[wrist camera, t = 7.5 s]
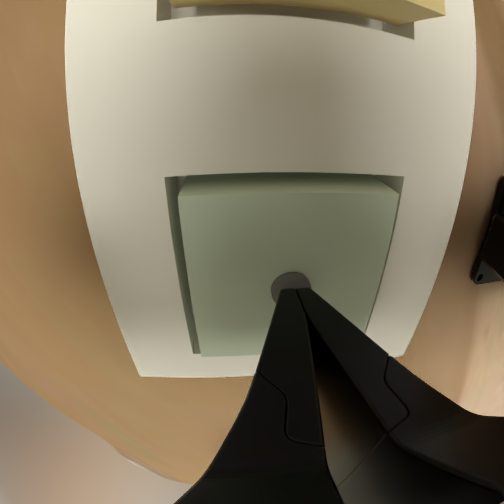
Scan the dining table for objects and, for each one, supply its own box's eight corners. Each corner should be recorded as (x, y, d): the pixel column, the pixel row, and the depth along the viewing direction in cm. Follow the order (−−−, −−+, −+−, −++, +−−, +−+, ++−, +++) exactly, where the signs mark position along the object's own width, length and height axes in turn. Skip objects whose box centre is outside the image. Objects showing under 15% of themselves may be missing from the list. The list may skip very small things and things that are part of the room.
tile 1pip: (367, 170, 10) (402, 196, 8) (343, 306, 13) (361, 347, 11) (188, 171, 9) (176, 199, 7) (204, 314, 12) (201, 360, 10)
